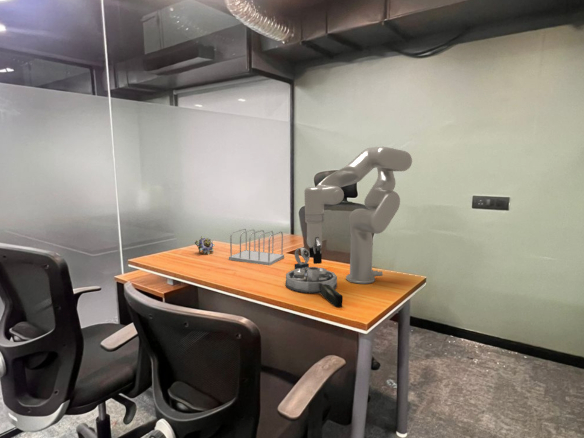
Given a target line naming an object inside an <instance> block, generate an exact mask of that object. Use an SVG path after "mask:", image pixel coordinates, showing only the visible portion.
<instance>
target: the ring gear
mask: <svg viewBox="0 0 584 438" xmlns="http://www.w3.org/2000/svg"><path fill="white" fill-rule="evenodd" d="M302 269H304V270H305V276H307V268H302ZM326 270H327V269H326ZM326 275H327V276H328V279H331V280H327V281H323V282H303V281H297V280H295V279H292V276H294V269H292V270H290V271H288V272H287V273H286V274H285V283H286V282H287V285H288V286H291V287H293V288H295V289H301V290H307V291H313V290H322V285H324V284H327V285H330V286H331V287H332V288H333V287H334V286H335V285H336V284H337V285H338V276H337V275H336V274H335V272H334V271H330V270H327V272H326Z"/></svg>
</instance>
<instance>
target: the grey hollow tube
mask: <svg viewBox="0 0 584 438" xmlns="http://www.w3.org/2000/svg"><path fill="white" fill-rule="evenodd" d="M319 268H320V267H318V266H309V268H307V282H320V281H319V270H320V269H319Z"/></svg>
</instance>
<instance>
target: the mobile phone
mask: <svg viewBox="0 0 584 438" xmlns="http://www.w3.org/2000/svg"><path fill="white" fill-rule="evenodd" d="M319 294H320V295H321V297H323V298H324V299H325V300H326V301H328V302H329V303H330V304H331V306H332V305H333V307H335V308H342V307H343V301H344V300H343V295H342V294H341V293H340V292H338V291H337V290H336V289H333V288H332V287H331V286H330V285H327V284H324V285H322V293H321V292H319Z"/></svg>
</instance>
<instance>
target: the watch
mask: <svg viewBox="0 0 584 438" xmlns="http://www.w3.org/2000/svg"><path fill="white" fill-rule="evenodd" d="M299 250H300V251H299ZM299 252H300V254H301V257H302V258H303V260H304V262H303V261H301V258H300V254H299ZM294 258H295V261H296V262H297V263H294V269H297V268H301V269H302V268H309V267H310V264H309V263H308V262H309V261H310V258H311V257H310V255H309V249H307V248H306V247H298V248H296V249H295V251H294Z"/></svg>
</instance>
